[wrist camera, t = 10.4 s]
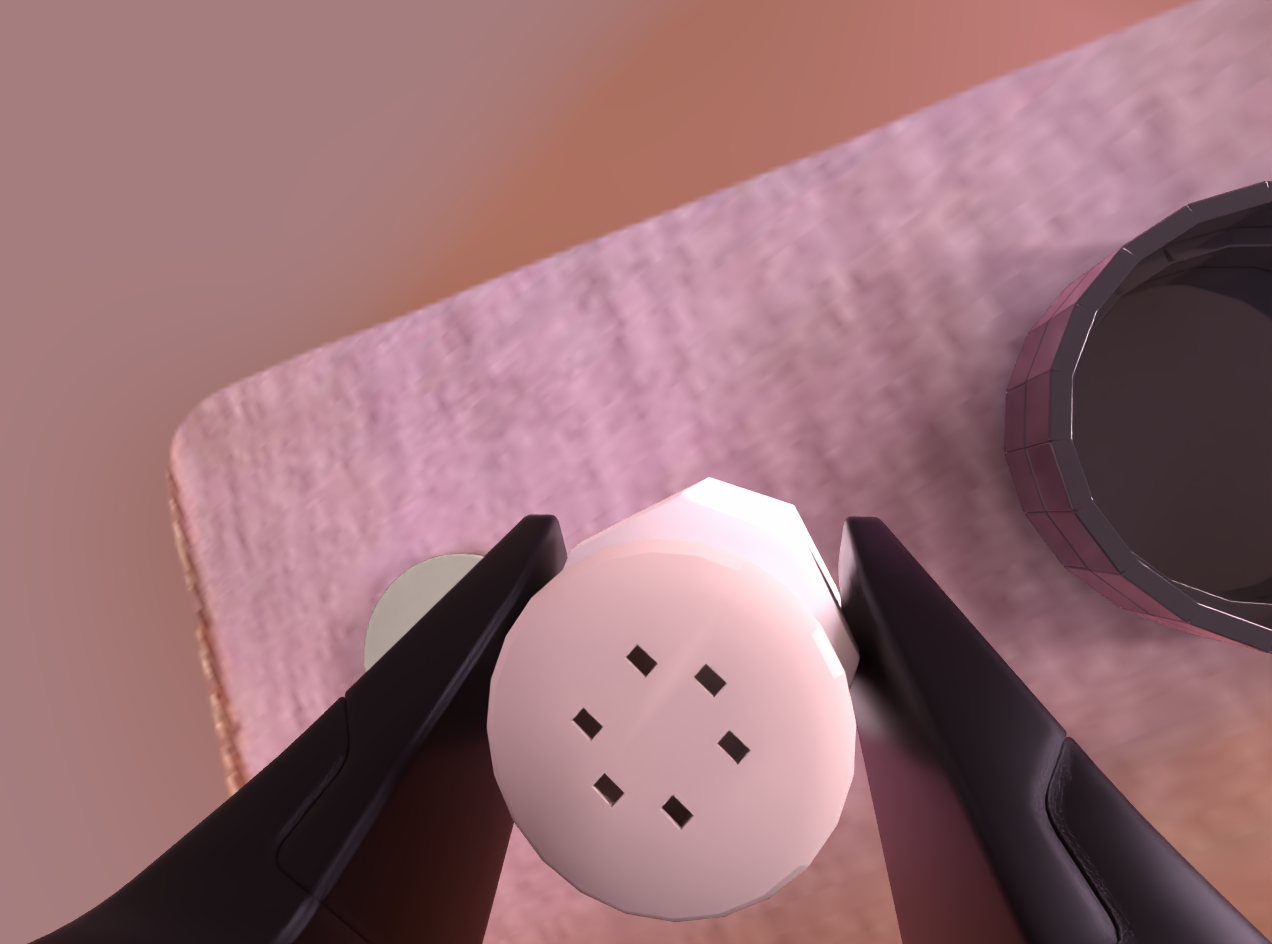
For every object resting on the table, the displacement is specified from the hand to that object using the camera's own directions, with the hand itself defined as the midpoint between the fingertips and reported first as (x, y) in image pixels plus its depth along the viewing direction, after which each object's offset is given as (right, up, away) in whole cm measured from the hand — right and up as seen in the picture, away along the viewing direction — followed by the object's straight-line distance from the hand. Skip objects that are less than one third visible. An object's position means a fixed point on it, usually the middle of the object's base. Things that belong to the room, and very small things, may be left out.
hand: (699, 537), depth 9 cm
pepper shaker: (+1, -2, +7) cm, 7 cm away
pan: (+17, +2, +11) cm, 20 cm away
